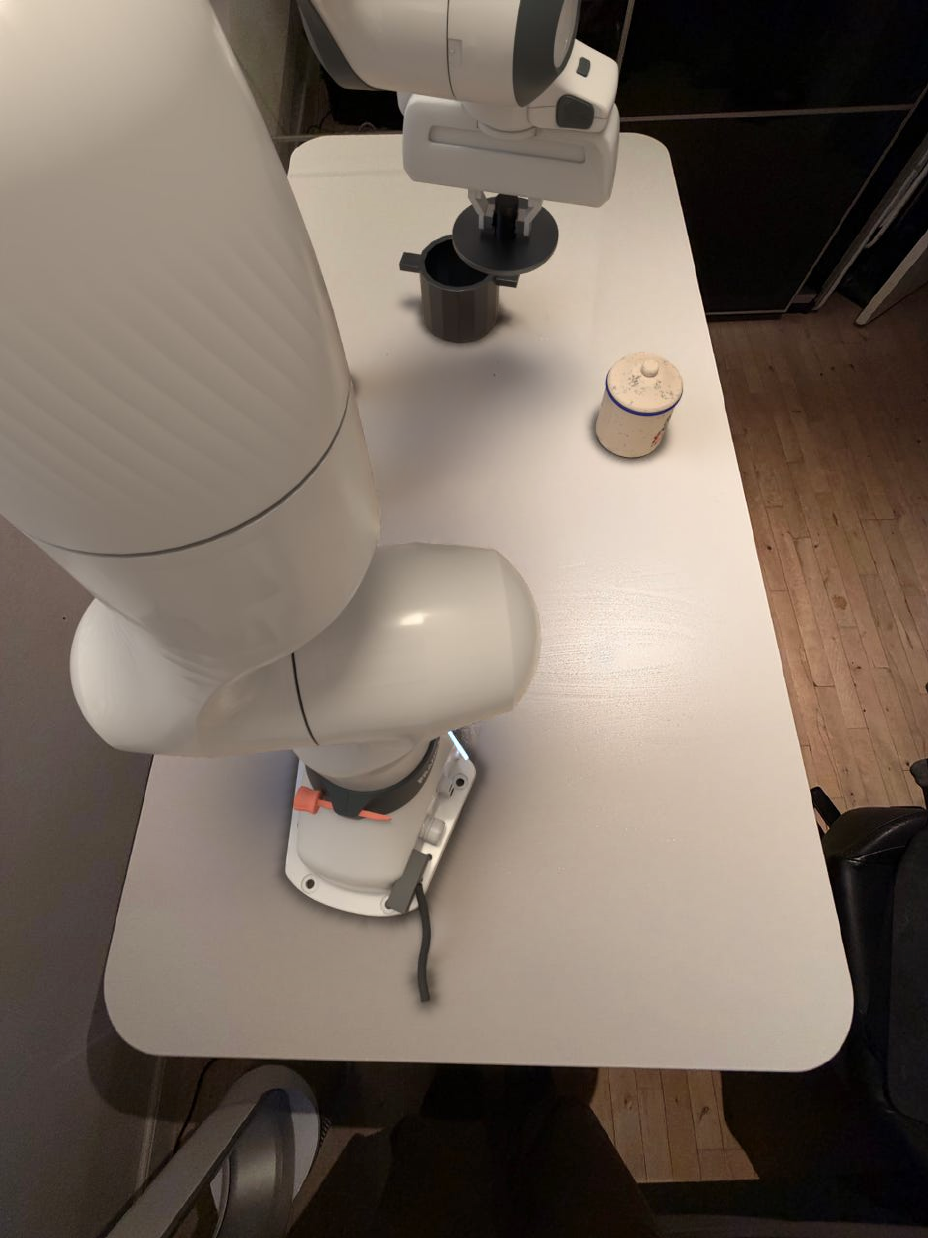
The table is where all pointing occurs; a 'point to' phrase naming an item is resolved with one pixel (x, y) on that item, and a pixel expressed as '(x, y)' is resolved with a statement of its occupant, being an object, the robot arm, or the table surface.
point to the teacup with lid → (638, 404)
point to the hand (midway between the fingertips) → (505, 228)
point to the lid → (505, 239)
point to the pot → (455, 292)
